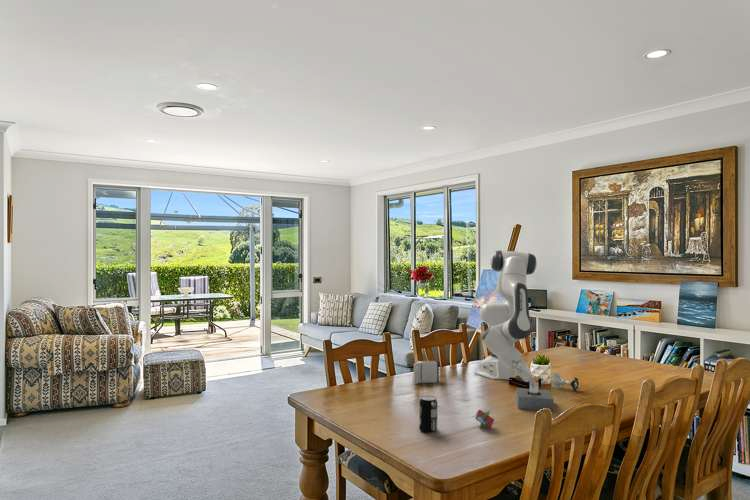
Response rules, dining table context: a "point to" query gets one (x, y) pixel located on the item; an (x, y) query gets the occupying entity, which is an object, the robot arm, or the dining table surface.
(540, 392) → the socket block
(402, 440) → the dining table surface
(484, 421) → the geometric puzzle
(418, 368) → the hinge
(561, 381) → the valve
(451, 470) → the dining table surface
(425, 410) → the beverage can
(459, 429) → the dining table surface
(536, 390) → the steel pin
